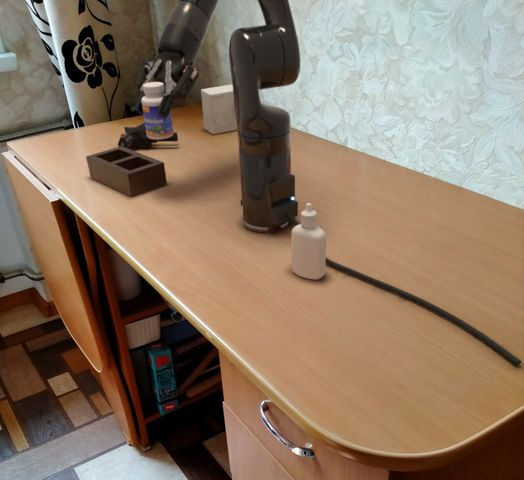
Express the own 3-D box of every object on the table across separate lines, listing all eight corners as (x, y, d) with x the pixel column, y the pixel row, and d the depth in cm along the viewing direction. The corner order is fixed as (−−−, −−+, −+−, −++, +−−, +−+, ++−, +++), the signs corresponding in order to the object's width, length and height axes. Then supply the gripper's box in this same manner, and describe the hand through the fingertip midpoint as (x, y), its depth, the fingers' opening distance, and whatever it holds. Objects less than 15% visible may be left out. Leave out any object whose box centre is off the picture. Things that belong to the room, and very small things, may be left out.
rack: (167, 184, 128) (164, 162, 125) (131, 197, 123) (127, 174, 120) (125, 166, 138) (121, 145, 135) (90, 177, 133) (85, 156, 130)
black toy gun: (185, 118, 154) (131, 118, 156) (168, 132, 138) (108, 133, 139) (187, 138, 157) (134, 139, 159) (170, 155, 141) (111, 155, 142)
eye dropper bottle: (312, 263, 97) (313, 195, 90) (328, 278, 93) (330, 208, 86) (289, 268, 96) (288, 200, 88) (303, 284, 92) (304, 213, 84)
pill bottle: (142, 139, 115) (133, 87, 109) (154, 131, 119) (146, 80, 113) (167, 140, 113) (159, 88, 107) (178, 132, 117) (171, 81, 111)
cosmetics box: (213, 135, 155) (209, 94, 148) (203, 129, 159) (199, 89, 153) (247, 128, 159) (245, 87, 152) (237, 122, 163) (234, 83, 157)
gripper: (146, 19, 112) (112, 98, 112) (201, 23, 105) (164, 107, 105) (168, 44, 119) (137, 119, 119) (222, 50, 112) (188, 129, 112)
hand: (150, 113), depth 112 cm, fingers closed on pill bottle, 5 cm apart
